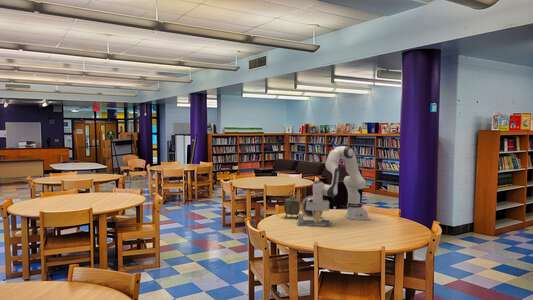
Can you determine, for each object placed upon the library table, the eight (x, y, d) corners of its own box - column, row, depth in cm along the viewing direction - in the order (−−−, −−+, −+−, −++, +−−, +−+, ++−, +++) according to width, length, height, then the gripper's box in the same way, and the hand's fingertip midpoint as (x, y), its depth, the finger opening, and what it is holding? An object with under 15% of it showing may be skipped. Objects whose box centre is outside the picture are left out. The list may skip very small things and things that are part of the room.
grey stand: (320, 221, 341) (320, 210, 341) (321, 224, 330) (321, 213, 330) (299, 220, 343) (300, 209, 342) (299, 223, 332) (300, 212, 331)
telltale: (316, 223, 333) (317, 220, 333) (317, 224, 331) (317, 220, 331) (315, 223, 333) (315, 220, 333) (315, 224, 331) (315, 220, 331)
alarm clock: (300, 214, 373) (301, 194, 372) (306, 213, 378) (306, 193, 377) (318, 218, 358) (318, 197, 357) (323, 217, 363) (323, 196, 362)
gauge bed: (329, 222, 345) (330, 214, 345) (331, 227, 329) (331, 218, 329) (298, 221, 347) (298, 213, 347) (298, 225, 331) (298, 217, 331)
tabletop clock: (299, 217, 363) (300, 190, 362) (299, 219, 354) (300, 192, 353) (284, 216, 365) (284, 190, 363) (283, 218, 356) (284, 191, 354)
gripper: (329, 199, 339) (328, 215, 340) (305, 198, 341) (305, 214, 341) (329, 200, 333) (329, 216, 334) (306, 200, 334) (305, 216, 335)
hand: (317, 215), depth 338 cm, fingers open, 4 cm apart
